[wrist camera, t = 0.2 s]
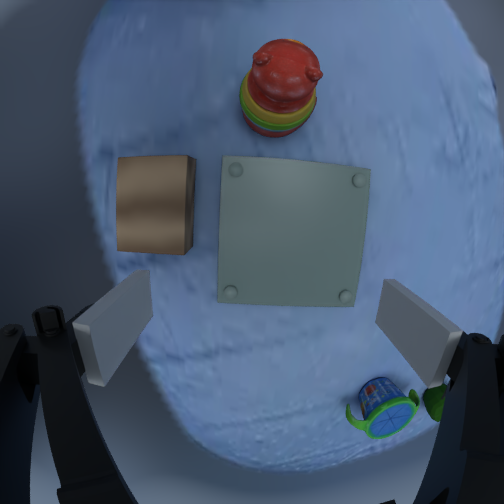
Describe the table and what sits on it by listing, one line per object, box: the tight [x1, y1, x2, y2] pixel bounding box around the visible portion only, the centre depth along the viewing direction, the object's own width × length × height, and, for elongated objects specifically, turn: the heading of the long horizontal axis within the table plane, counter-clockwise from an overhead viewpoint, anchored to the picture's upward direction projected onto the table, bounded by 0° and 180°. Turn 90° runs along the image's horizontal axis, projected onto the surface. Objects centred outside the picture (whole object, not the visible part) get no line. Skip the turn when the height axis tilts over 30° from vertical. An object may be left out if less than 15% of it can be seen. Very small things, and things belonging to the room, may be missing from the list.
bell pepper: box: [423, 383, 447, 422], centre depth 45 cm, size 8×8×10 cm
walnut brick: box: [116, 155, 196, 255], centre depth 38 cm, size 13×10×6 cm
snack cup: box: [346, 378, 420, 439], centre depth 44 cm, size 16×10×10 cm
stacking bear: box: [239, 39, 323, 137], centre depth 29 cm, size 11×10×18 cm
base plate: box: [217, 156, 371, 307], centre depth 41 cm, size 22×22×2 cm
